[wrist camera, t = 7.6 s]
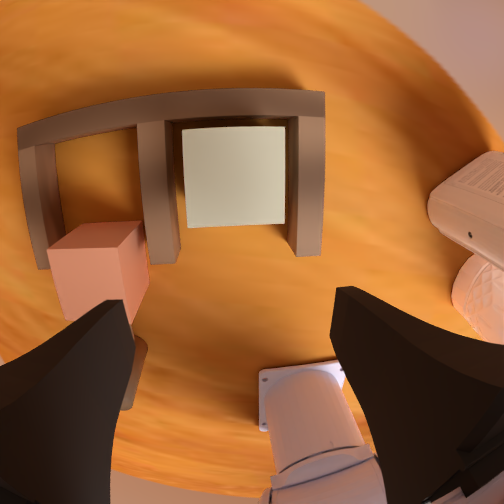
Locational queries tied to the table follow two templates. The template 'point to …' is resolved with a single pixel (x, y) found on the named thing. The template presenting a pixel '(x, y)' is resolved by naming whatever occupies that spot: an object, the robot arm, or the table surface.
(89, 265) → the tethered block
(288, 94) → the lane rack
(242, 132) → the plain block
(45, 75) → the table surface
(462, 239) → the photo printer
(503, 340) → the white cup
